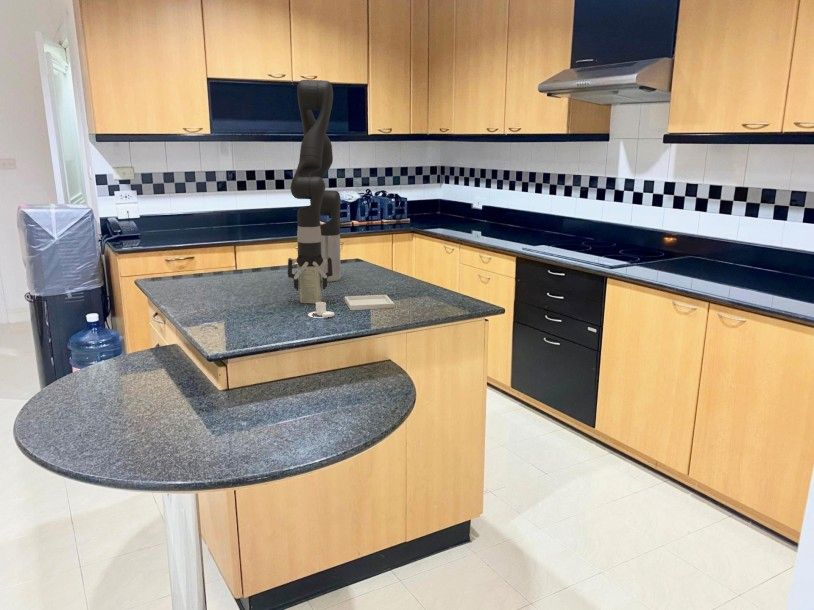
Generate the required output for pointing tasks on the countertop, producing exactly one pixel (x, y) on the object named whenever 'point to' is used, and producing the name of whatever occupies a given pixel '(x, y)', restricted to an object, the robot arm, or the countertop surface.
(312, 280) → the skincare box
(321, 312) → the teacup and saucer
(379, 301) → the tray
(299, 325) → the countertop surface
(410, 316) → the countertop surface
